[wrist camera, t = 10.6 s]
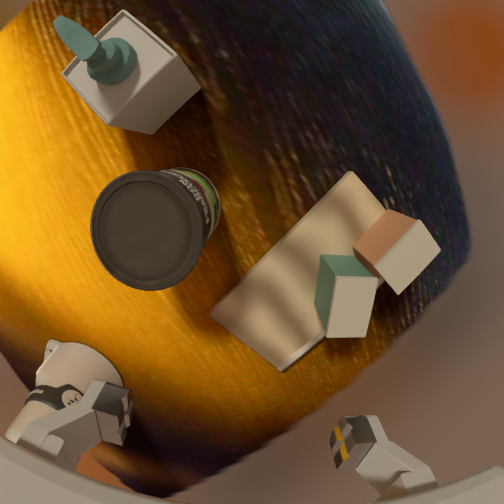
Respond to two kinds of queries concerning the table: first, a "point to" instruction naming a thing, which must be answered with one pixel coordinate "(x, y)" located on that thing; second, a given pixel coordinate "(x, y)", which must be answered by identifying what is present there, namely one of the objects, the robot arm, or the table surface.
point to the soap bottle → (126, 73)
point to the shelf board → (297, 276)
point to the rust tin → (397, 248)
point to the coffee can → (154, 225)
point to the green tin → (344, 296)
